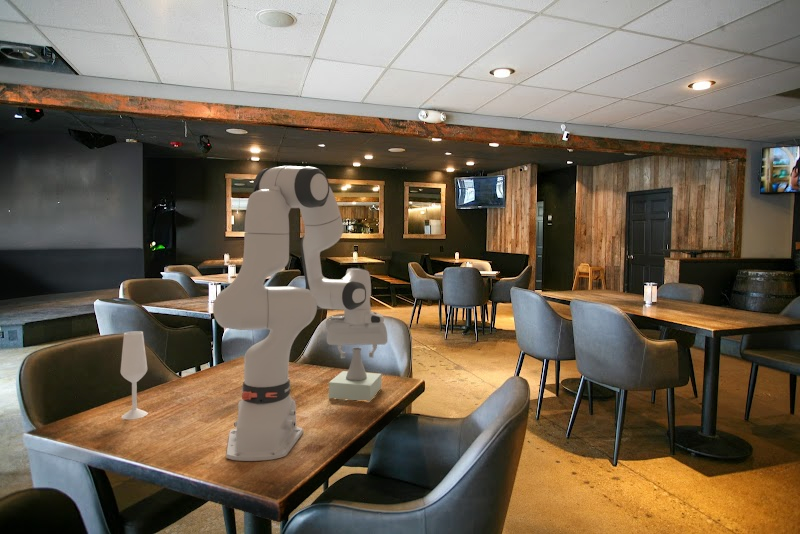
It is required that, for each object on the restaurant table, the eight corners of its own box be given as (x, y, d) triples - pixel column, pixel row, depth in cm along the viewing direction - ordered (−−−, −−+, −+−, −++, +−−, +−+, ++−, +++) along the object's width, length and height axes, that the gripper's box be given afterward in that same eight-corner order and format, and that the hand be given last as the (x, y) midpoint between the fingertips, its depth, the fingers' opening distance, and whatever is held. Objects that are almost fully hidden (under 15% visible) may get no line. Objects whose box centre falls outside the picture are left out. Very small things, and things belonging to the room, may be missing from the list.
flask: (370, 376, 160) (370, 347, 159) (362, 382, 153) (362, 351, 152) (350, 374, 162) (350, 345, 161) (342, 379, 155) (342, 349, 154)
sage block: (370, 404, 149) (370, 385, 149) (328, 400, 152) (328, 382, 152) (381, 390, 163) (381, 373, 162) (342, 387, 166) (343, 370, 165)
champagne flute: (153, 413, 137) (152, 331, 135) (131, 421, 131) (130, 335, 129) (137, 409, 140) (136, 329, 138) (115, 416, 133) (114, 333, 132)
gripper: (325, 318, 152) (325, 360, 153) (388, 318, 154) (387, 359, 155) (326, 315, 158) (326, 355, 159) (386, 315, 160) (386, 355, 161)
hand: (357, 357), depth 157 cm, fingers open, 8 cm apart
